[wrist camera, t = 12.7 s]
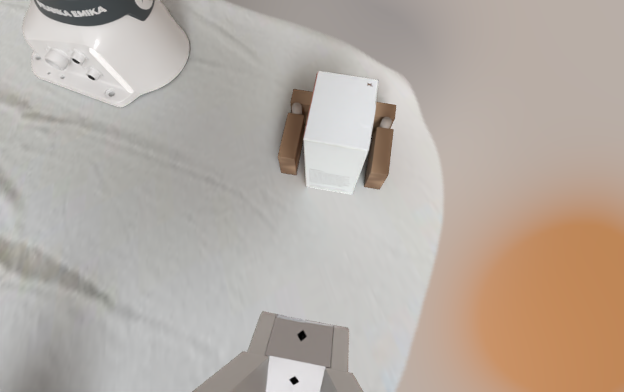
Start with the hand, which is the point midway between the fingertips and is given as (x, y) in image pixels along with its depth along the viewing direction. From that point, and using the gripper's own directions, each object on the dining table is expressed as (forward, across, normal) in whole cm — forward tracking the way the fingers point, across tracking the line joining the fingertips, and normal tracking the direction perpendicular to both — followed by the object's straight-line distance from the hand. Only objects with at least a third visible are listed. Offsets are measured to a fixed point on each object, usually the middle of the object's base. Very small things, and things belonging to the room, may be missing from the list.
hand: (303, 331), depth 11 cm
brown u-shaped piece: (+34, 0, +4) cm, 35 cm away
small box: (+33, 0, +6) cm, 33 cm away
